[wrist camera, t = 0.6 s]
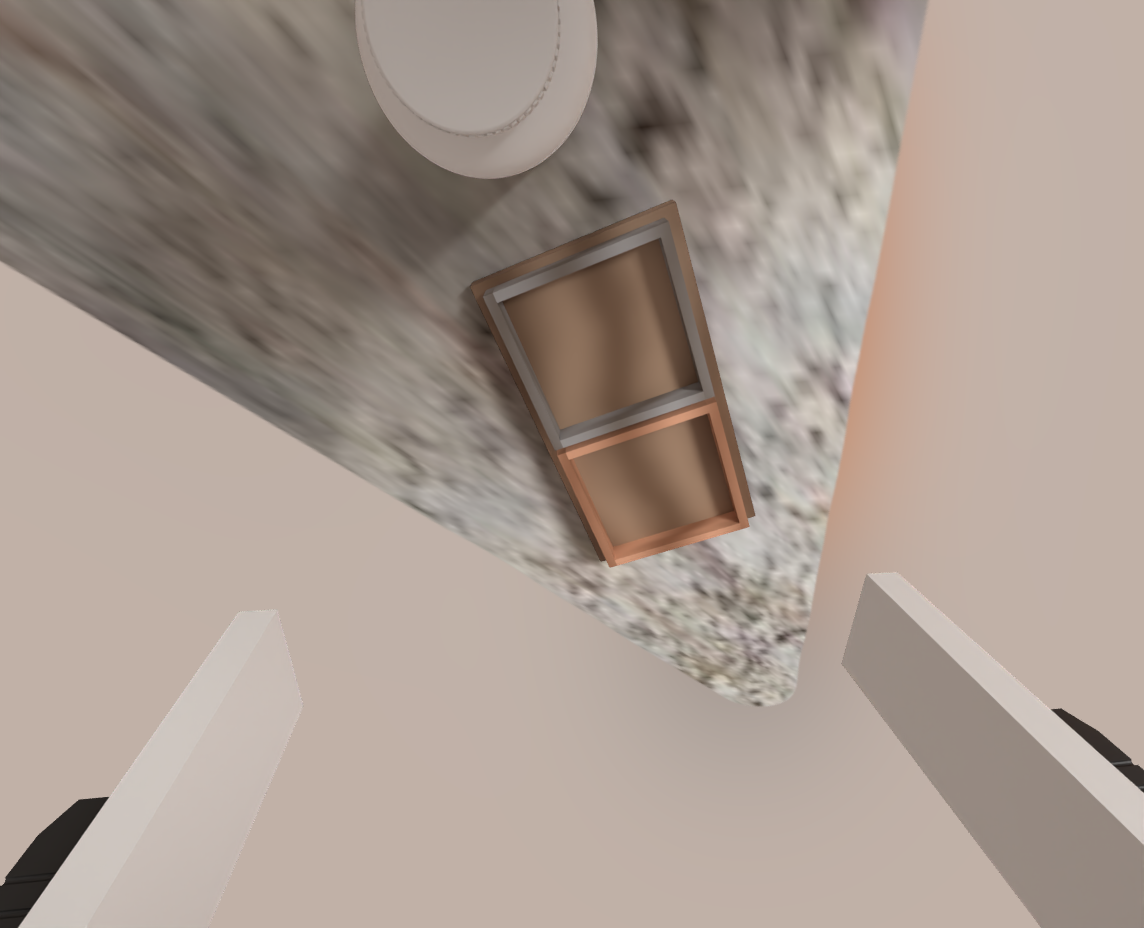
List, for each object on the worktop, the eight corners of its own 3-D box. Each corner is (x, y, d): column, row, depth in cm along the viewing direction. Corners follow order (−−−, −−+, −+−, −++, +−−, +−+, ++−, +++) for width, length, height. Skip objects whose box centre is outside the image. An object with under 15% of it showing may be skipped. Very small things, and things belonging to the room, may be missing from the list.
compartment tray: (671, 199, 30) (680, 205, 28) (750, 506, 42) (761, 528, 39) (472, 282, 32) (465, 293, 30) (600, 551, 44) (602, 574, 42)
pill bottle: (577, -45, 25) (594, -229, 12) (593, 155, 29) (617, 177, 16) (408, -21, 25) (249, -173, 12) (448, 173, 29) (360, 209, 17)
